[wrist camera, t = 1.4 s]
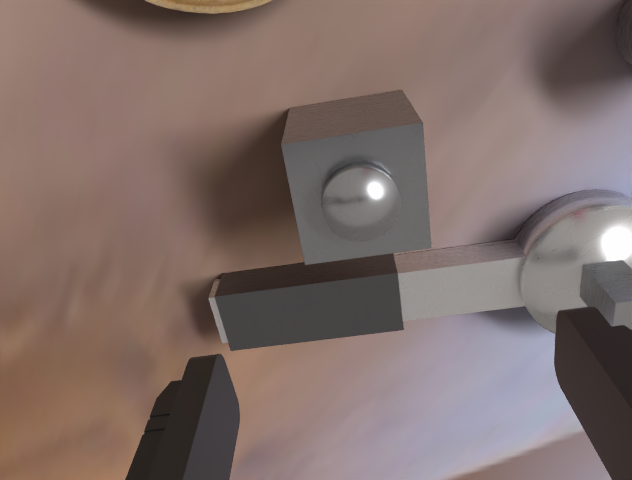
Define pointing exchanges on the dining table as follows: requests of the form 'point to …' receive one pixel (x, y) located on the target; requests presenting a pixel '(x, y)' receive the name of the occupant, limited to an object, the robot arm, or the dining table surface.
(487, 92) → the dining table surface
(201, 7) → the plant saucer
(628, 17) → the socket
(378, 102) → the socket
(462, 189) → the dining table surface
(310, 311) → the ratchet
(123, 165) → the dining table surface
